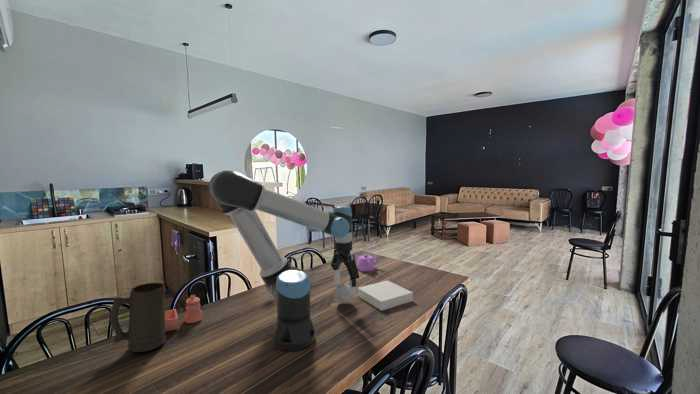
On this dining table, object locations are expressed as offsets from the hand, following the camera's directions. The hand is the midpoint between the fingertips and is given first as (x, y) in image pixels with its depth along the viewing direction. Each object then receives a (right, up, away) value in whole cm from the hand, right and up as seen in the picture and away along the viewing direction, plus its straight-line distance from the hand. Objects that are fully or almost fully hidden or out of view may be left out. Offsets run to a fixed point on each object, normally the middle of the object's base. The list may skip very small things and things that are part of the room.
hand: (344, 288), depth 131 cm
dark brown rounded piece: (-30, -6, +17) cm, 35 cm away
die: (0, -7, 0) cm, 7 cm away
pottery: (-65, -9, -17) cm, 67 cm away
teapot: (+14, -4, +46) cm, 48 cm away
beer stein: (-68, -10, -31) cm, 75 cm away
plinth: (+18, -7, +6) cm, 21 cm away
